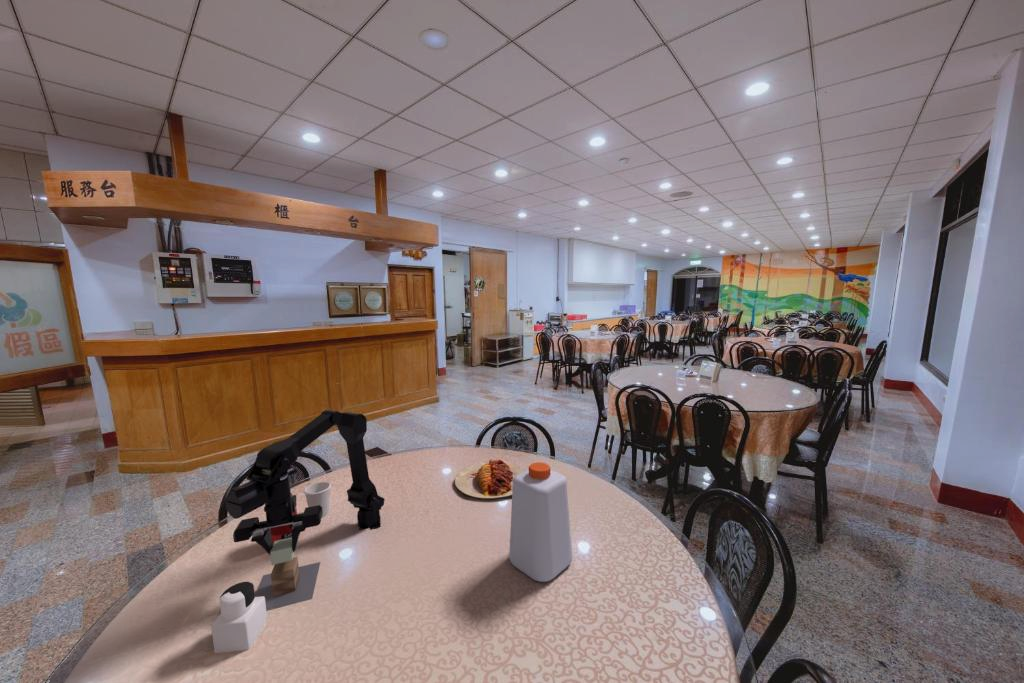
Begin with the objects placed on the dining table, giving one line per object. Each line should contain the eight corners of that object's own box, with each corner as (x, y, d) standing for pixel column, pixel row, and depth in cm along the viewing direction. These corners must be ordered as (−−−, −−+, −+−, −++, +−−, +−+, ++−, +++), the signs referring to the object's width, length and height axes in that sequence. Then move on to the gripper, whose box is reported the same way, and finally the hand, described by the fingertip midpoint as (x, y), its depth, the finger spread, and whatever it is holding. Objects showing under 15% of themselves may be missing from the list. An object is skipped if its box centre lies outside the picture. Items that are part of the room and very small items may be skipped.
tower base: (299, 577, 99) (298, 566, 99) (295, 590, 94) (294, 580, 94) (278, 582, 97) (276, 571, 97) (272, 596, 93) (271, 585, 92)
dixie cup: (337, 508, 133) (335, 481, 132) (323, 521, 125) (321, 494, 124) (316, 507, 134) (313, 481, 133) (300, 520, 126) (298, 493, 125)
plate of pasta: (543, 499, 135) (542, 481, 135) (449, 504, 136) (447, 486, 135) (538, 464, 166) (537, 449, 166) (461, 468, 167) (460, 453, 166)
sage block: (295, 549, 98) (294, 537, 97) (292, 560, 94) (290, 547, 93) (275, 553, 96) (274, 541, 96) (271, 565, 92) (270, 552, 92)
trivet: (320, 563, 105) (320, 561, 105) (312, 600, 92) (312, 598, 92) (263, 577, 100) (263, 575, 100) (246, 618, 87) (245, 616, 87)
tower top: (298, 566, 99) (297, 556, 98) (294, 580, 94) (293, 569, 94) (276, 571, 97) (275, 561, 97) (271, 585, 92) (270, 574, 92)
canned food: (286, 551, 110) (282, 517, 109) (263, 548, 112) (260, 514, 111) (305, 535, 118) (302, 503, 117) (283, 533, 119) (280, 501, 118)
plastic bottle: (538, 536, 115) (537, 450, 112) (578, 560, 104) (578, 465, 101) (503, 561, 104) (500, 467, 101) (543, 590, 93) (542, 485, 90)
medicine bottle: (236, 626, 85) (230, 578, 84) (268, 623, 86) (263, 576, 84) (213, 655, 78) (207, 604, 77) (249, 652, 79) (243, 601, 77)
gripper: (323, 475, 104) (327, 527, 106) (245, 488, 97) (251, 543, 99) (316, 494, 93) (322, 551, 95) (229, 510, 87) (236, 571, 89)
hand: (283, 553), depth 95 cm, fingers closed on sage block, 4 cm apart
